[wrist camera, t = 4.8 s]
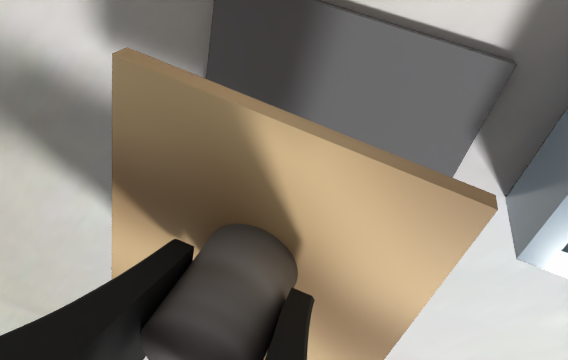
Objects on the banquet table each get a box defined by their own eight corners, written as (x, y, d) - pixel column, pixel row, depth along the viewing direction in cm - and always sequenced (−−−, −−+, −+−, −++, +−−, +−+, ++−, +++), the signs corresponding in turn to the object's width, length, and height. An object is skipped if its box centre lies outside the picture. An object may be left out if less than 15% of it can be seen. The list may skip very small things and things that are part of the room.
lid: (351, 392, 16) (323, 521, 12) (121, 282, 17) (40, 373, 14) (495, 195, 10) (517, 340, 7) (127, 47, 11) (-15, 106, 8)
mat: (396, 273, 23) (395, 278, 22) (196, 193, 24) (193, 196, 24) (514, 61, 15) (516, 64, 15) (221, -30, 17) (217, -29, 17)
